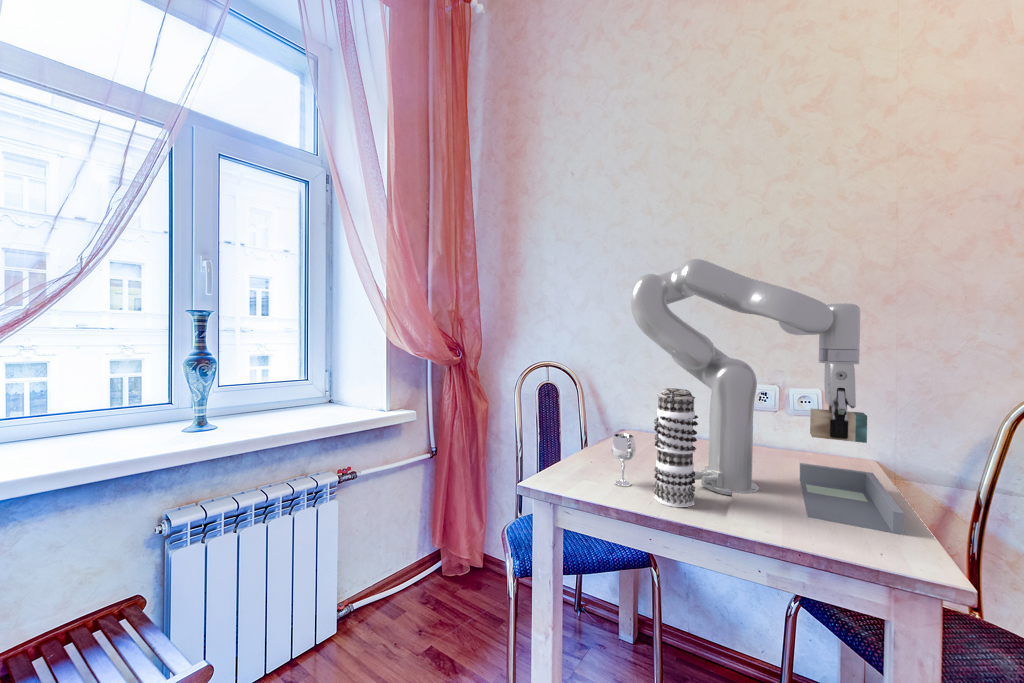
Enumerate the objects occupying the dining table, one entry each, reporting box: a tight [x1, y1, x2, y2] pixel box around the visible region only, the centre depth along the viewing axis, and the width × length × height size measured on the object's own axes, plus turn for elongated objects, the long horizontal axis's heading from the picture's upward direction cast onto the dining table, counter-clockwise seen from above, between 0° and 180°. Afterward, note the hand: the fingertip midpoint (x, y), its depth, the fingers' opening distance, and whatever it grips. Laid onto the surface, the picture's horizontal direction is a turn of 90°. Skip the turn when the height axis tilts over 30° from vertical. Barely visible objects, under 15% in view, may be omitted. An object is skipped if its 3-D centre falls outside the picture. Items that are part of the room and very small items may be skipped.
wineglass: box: [611, 433, 636, 485], centre depth 107 cm, size 6×6×12 cm
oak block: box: [809, 408, 868, 444], centre depth 100 cm, size 10×5×6 cm, turn 59°
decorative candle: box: [653, 387, 699, 508], centre depth 97 cm, size 9×9×25 cm
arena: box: [799, 462, 905, 536], centre depth 95 cm, size 28×14×5 cm, turn 149°
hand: (837, 434), depth 100 cm, fingers closed on oak block, 5 cm apart
